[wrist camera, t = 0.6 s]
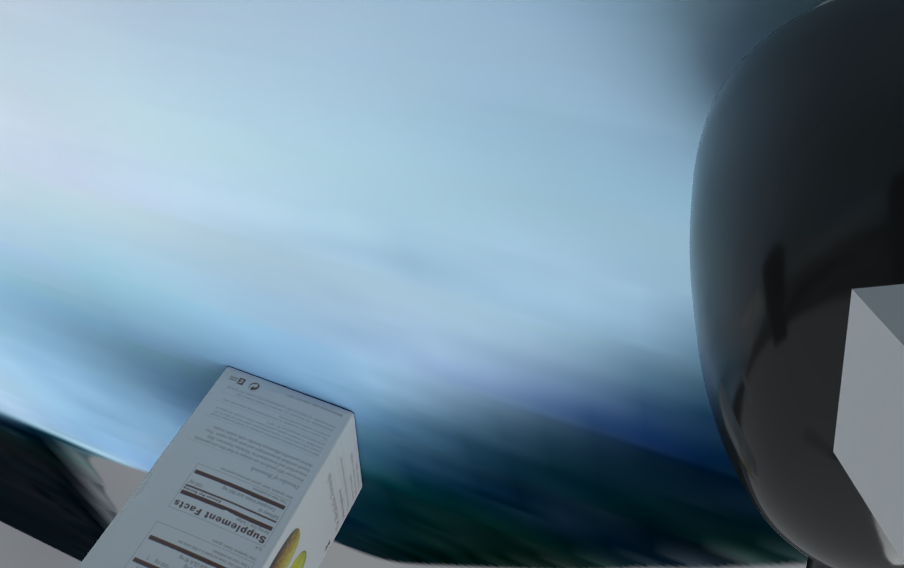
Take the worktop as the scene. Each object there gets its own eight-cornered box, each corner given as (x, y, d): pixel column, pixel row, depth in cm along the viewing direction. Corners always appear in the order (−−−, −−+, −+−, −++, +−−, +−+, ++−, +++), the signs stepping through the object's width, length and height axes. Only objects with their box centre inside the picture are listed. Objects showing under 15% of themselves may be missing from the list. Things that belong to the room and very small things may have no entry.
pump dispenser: (706, 204, 29) (587, 600, 20) (748, -98, 22) (592, 301, 12) (1040, 258, 26) (1090, 769, 16) (1223, -79, 18) (1508, 495, 9)
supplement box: (365, 486, 57) (233, 738, 46) (249, 441, 59) (97, 672, 49) (355, 409, 50) (195, 686, 39) (224, 361, 52) (39, 611, 41)
